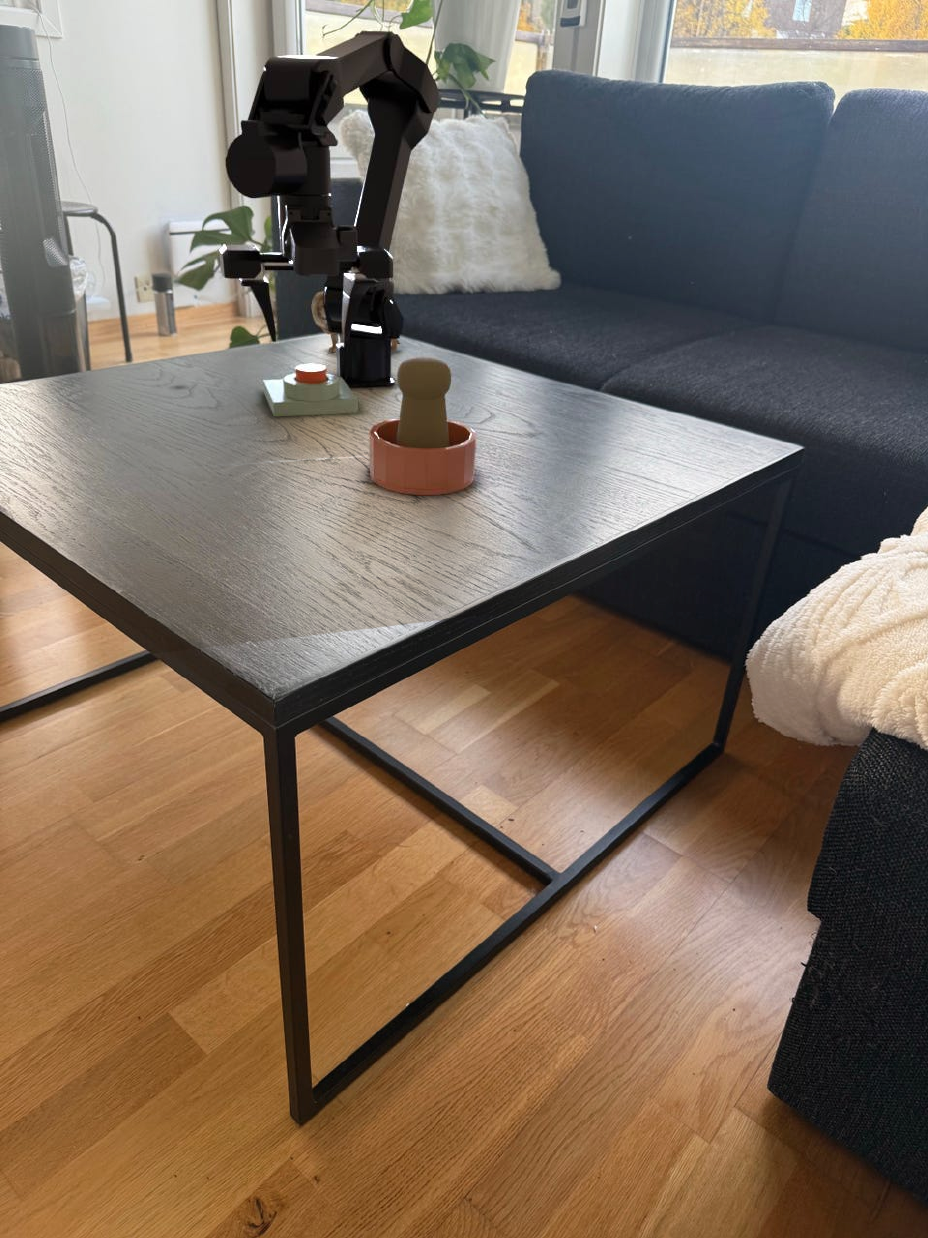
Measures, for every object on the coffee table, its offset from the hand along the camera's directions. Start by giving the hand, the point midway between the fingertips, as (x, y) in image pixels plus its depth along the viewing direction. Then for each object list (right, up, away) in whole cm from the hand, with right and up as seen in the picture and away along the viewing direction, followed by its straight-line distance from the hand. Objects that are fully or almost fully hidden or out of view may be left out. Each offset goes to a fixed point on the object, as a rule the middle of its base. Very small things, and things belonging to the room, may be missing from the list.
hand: (309, 340), depth 104 cm
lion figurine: (+2, +7, +29) cm, 30 cm away
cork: (+14, -18, -15) cm, 27 cm away
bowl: (+14, -18, -14) cm, 27 cm away
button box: (-1, -6, +6) cm, 8 cm away
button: (0, -4, +2) cm, 5 cm away
